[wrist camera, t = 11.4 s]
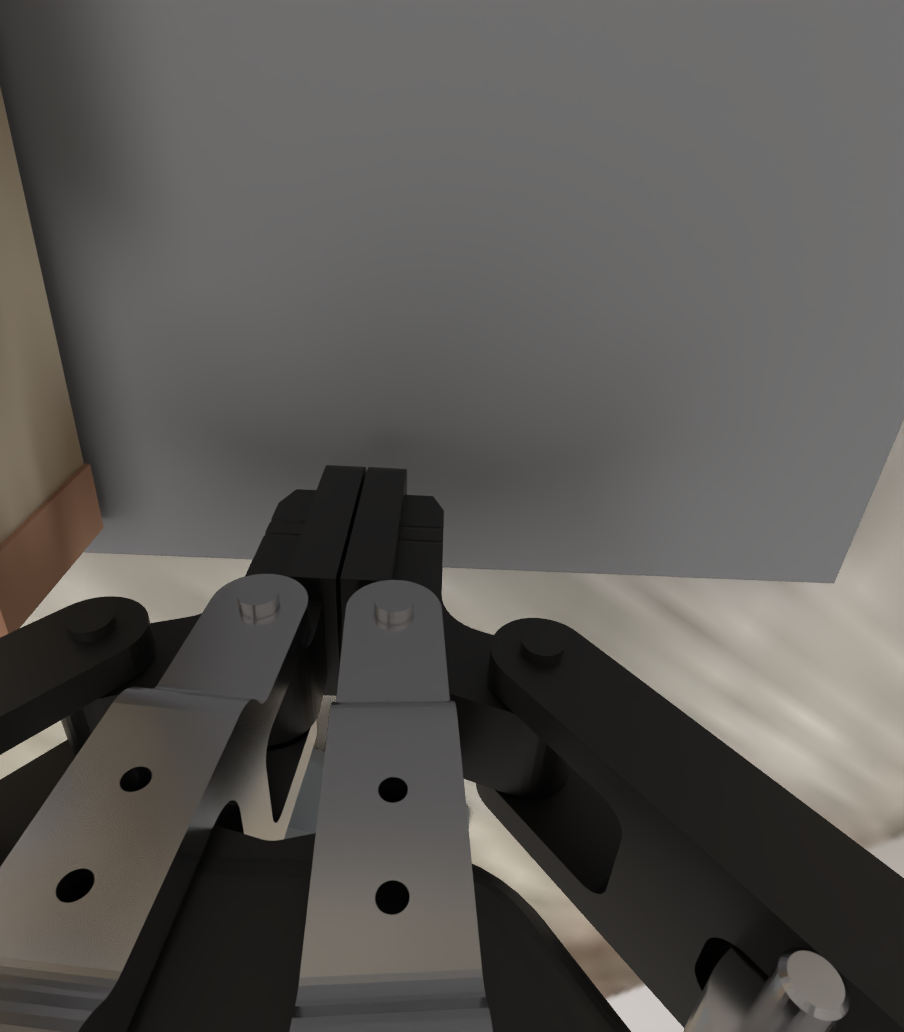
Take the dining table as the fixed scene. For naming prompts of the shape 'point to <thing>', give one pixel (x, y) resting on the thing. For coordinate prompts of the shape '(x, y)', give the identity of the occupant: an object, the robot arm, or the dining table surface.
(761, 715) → the dining table surface
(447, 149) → the base plate
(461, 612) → the dining table surface
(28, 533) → the brass latch lever
